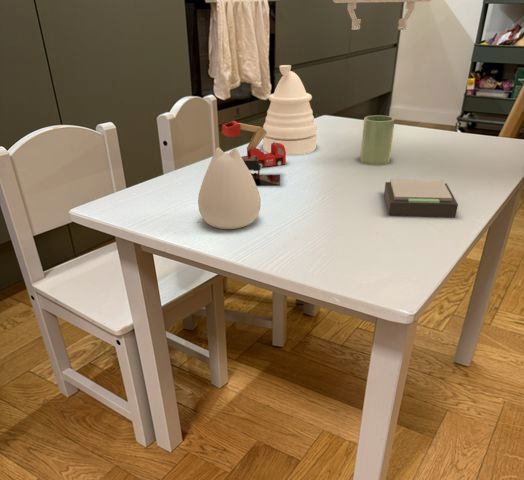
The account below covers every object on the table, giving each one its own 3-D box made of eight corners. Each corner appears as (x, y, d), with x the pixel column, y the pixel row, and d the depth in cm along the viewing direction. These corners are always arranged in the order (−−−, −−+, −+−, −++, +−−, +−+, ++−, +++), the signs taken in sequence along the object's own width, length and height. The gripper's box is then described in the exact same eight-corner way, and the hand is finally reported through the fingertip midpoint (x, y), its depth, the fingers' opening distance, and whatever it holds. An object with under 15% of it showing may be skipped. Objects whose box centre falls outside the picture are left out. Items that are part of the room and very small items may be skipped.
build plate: (279, 176, 105) (280, 153, 102) (280, 188, 99) (280, 163, 96) (220, 176, 105) (219, 153, 102) (217, 188, 99) (216, 164, 96)
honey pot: (295, 159, 115) (297, 70, 104) (252, 150, 122) (249, 66, 111) (325, 147, 123) (330, 63, 112) (284, 139, 130) (284, 60, 119)
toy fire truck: (287, 165, 111) (288, 118, 105) (228, 173, 107) (226, 124, 101) (282, 161, 113) (282, 115, 108) (224, 169, 109) (221, 121, 104)
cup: (388, 158, 114) (393, 115, 109) (390, 166, 109) (395, 121, 104) (359, 157, 115) (363, 115, 110) (360, 165, 110) (364, 121, 104)
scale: (444, 196, 93) (447, 179, 91) (455, 218, 84) (459, 200, 82) (383, 195, 94) (385, 178, 92) (388, 217, 85) (390, 199, 83)
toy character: (265, 212, 88) (264, 140, 81) (255, 236, 80) (253, 158, 72) (208, 210, 89) (202, 139, 82) (192, 233, 81) (184, 156, 74)
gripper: (445, -59, 94) (432, 28, 102) (338, -54, 100) (334, 28, 108) (443, -62, 89) (429, 30, 97) (330, -56, 95) (326, 30, 103)
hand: (378, 29), depth 102 cm, fingers open, 8 cm apart
